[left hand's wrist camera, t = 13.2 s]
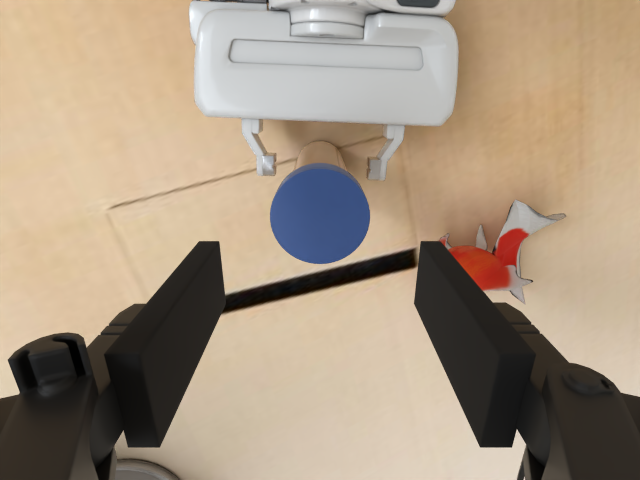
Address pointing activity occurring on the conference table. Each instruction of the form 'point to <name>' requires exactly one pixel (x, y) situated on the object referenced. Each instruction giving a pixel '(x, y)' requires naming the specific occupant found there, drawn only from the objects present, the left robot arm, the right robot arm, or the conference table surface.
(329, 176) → the lid
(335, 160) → the jar
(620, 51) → the conference table surface
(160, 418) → the left robot arm
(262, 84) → the right robot arm
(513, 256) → the fish
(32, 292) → the conference table surface
